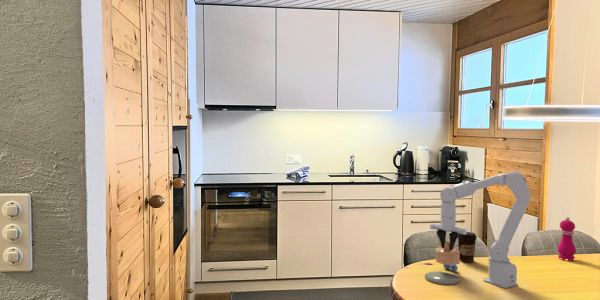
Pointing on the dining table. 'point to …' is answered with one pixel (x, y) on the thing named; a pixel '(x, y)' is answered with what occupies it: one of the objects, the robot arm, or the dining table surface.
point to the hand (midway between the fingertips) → (447, 248)
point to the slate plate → (442, 278)
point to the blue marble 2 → (453, 267)
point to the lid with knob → (447, 255)
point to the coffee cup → (467, 246)
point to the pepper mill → (567, 240)
